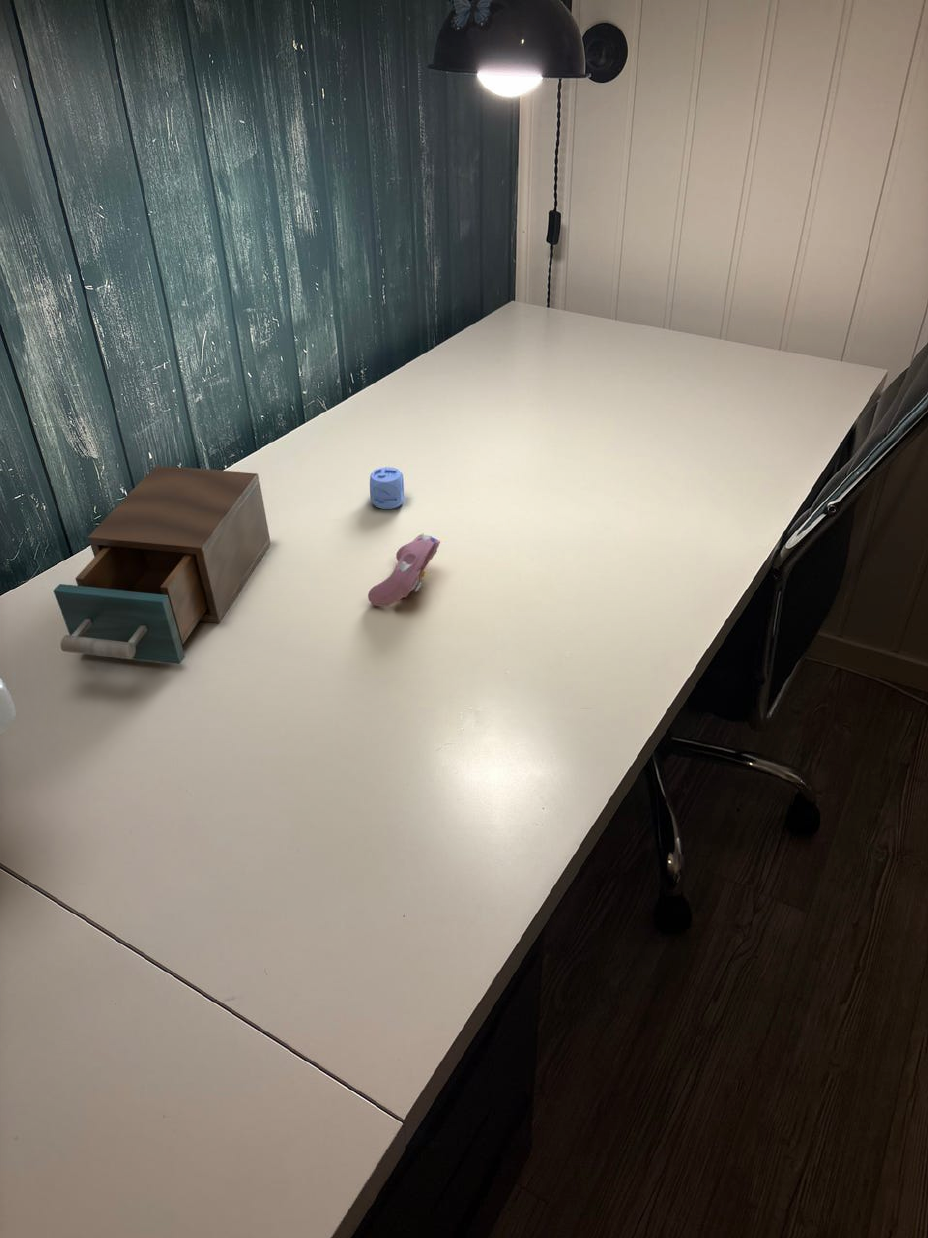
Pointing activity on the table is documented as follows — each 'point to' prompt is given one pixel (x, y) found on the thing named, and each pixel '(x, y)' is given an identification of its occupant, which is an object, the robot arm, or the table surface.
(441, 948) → the table surface
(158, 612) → the drawer
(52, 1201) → the table surface
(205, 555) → the cabinet
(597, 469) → the table surface
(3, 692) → the robot arm
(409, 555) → the video game controller
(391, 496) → the decorative dice
